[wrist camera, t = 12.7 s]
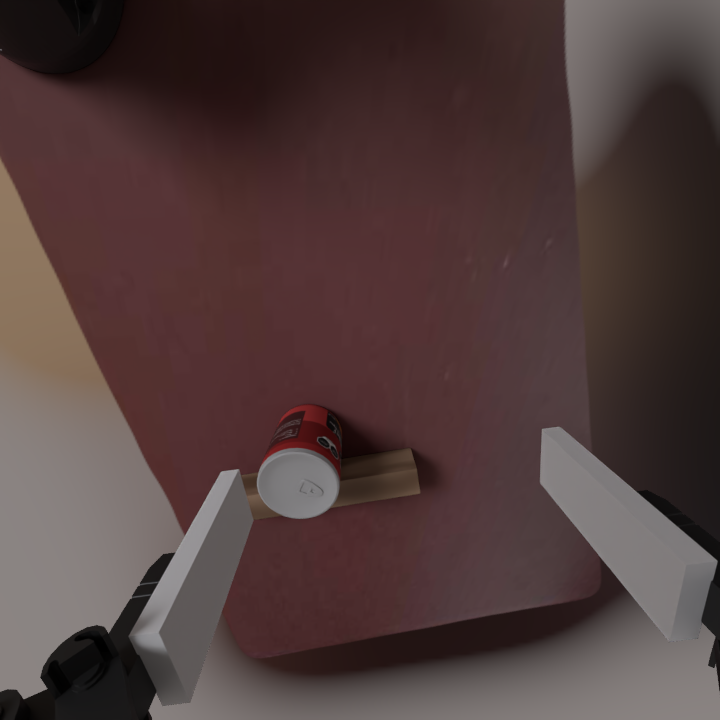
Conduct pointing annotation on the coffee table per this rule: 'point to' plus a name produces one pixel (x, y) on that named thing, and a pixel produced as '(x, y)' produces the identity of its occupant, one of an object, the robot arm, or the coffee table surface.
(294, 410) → the canned food
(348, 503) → the board
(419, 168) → the coffee table surface
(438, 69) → the coffee table surface
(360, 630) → the coffee table surface
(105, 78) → the coffee table surface
